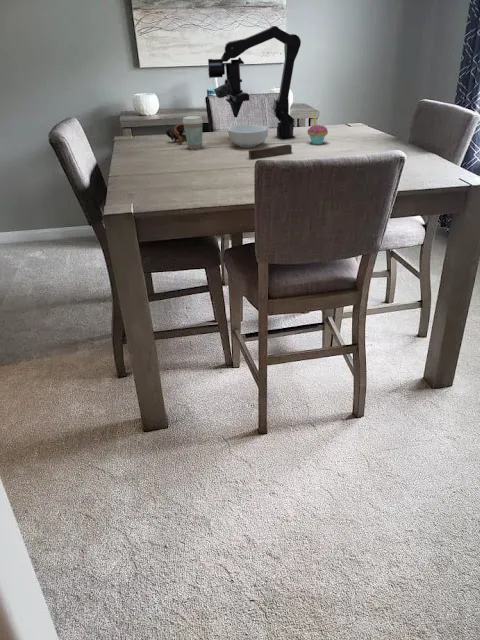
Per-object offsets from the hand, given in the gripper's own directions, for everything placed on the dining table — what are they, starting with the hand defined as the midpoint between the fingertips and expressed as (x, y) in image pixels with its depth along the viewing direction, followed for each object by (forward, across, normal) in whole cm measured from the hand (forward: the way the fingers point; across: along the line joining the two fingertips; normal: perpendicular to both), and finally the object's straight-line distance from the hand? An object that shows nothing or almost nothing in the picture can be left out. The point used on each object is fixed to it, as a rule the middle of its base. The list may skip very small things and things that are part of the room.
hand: (235, 117), depth 216 cm
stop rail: (+10, +34, 0) cm, 35 cm away
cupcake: (+10, +25, +27) cm, 38 cm away
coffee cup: (+10, +4, -21) cm, 24 cm away
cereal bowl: (+10, +13, 0) cm, 16 cm away
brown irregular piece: (+10, -11, -23) cm, 27 cm away
